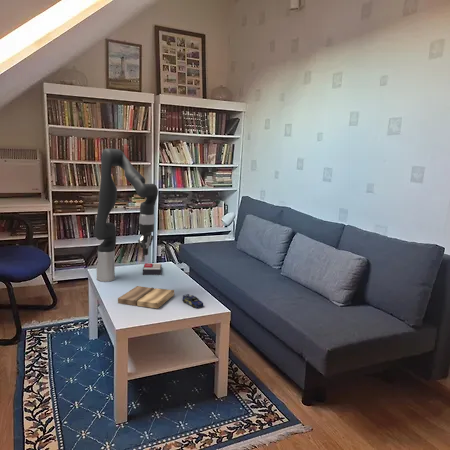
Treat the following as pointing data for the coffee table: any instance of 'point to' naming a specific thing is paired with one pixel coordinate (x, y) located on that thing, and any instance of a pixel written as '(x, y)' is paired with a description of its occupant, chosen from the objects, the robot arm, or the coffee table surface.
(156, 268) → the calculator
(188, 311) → the coffee table surface
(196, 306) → the race car
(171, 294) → the plank
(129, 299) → the floor board
